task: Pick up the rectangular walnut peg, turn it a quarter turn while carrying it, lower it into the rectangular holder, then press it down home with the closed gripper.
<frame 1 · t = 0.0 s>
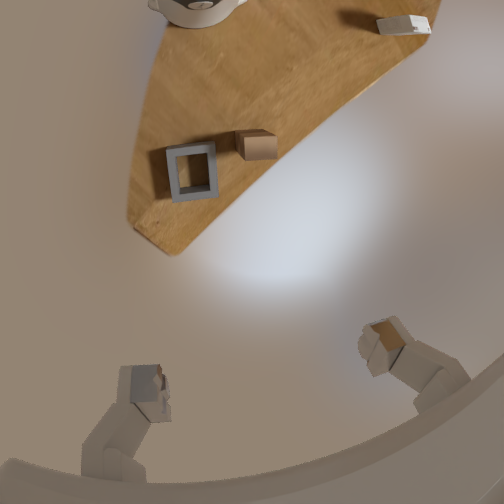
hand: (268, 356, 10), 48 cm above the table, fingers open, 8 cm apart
walnut peg: (249, 139, 51), on the table
skincare box: (385, 28, 40), on the table
holder: (192, 168, 52), on the table
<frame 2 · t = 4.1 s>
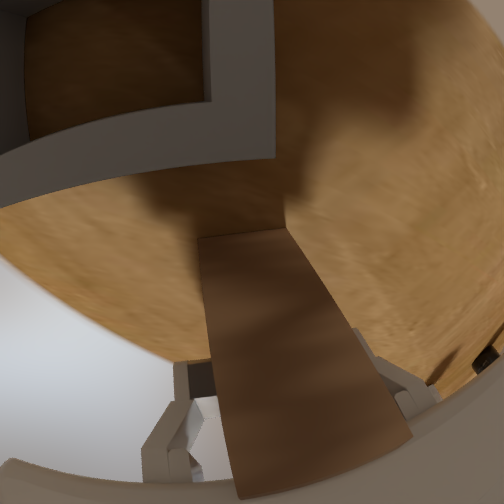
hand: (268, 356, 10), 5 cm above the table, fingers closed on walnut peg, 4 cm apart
walnut peg: (245, 281, 14), on the table, touching gripper
supplement bottle: (481, 354, 40), on the table
holder: (102, 45, 7), on the table
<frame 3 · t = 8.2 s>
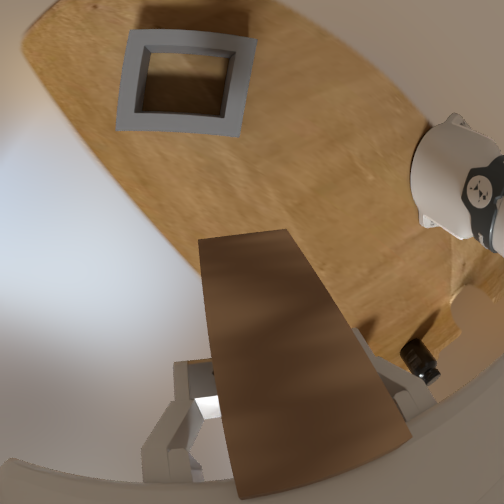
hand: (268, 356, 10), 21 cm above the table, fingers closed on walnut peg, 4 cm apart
walnut peg: (245, 282, 14), point 16 cm above the table, touching gripper
supplement bottle: (409, 346, 58), on the table
holder: (185, 82, 21), on the table
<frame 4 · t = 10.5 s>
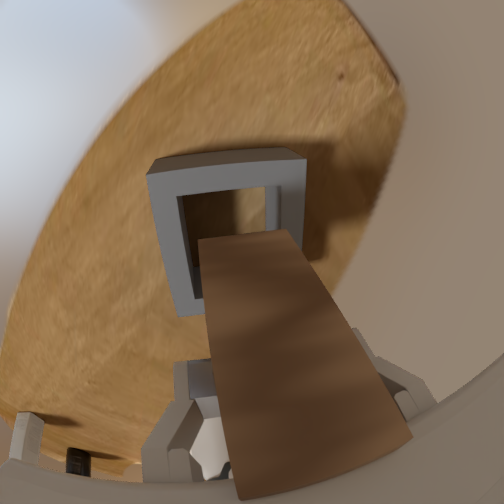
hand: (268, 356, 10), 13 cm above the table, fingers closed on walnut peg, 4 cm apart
walnut peg: (245, 282, 14), point 8 cm above the table, touching gripper
supplement bottle: (79, 451, 44), on the table
skincare box: (30, 415, 33), on the table
holder: (226, 220, 20), on the table
when the fingers open (6 cm above the table, at t = 12.6 s): walnut peg stays where it is, resting in holder.
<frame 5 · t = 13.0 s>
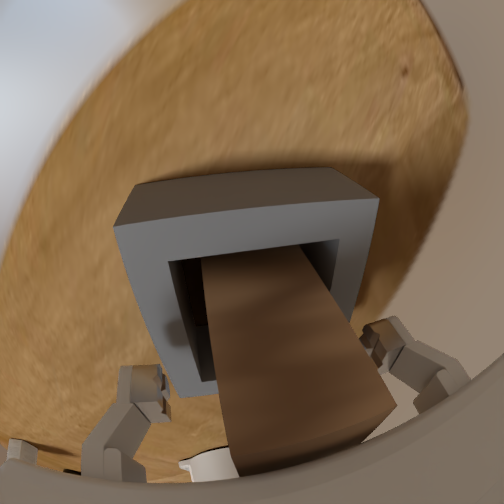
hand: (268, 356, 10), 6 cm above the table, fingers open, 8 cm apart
walnut peg: (242, 270, 14), resting in holder
skincare box: (23, 442, 26), on the table
holder: (241, 270, 14), on the table
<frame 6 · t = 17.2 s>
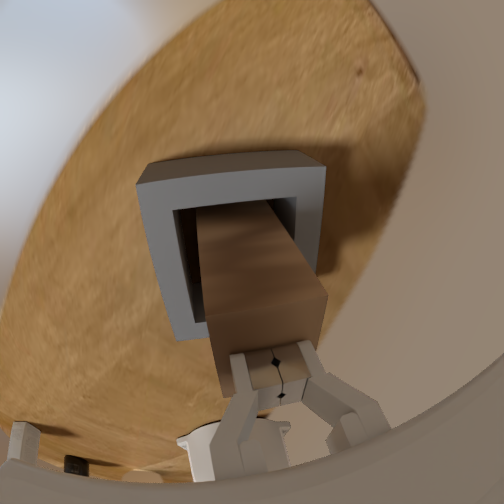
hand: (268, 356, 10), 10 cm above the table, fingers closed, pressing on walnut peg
walnut peg: (229, 233, 18), resting in holder, touching gripper
supplement bottle: (76, 458, 41), on the table
skincare box: (26, 424, 30), on the table
holder: (229, 232, 18), on the table
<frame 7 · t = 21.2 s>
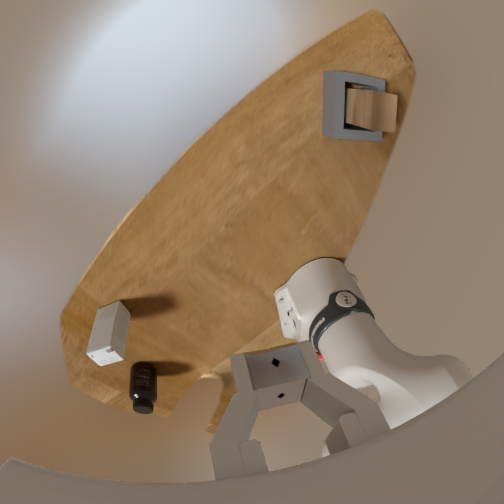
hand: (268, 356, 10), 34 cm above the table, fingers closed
walnut peg: (347, 105, 37), resting in holder
supplement bottle: (143, 368, 60), on the table
skincare box: (114, 309, 49), on the table
holder: (347, 105, 37), on the table
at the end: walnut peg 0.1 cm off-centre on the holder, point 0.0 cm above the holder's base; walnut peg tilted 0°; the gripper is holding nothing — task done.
